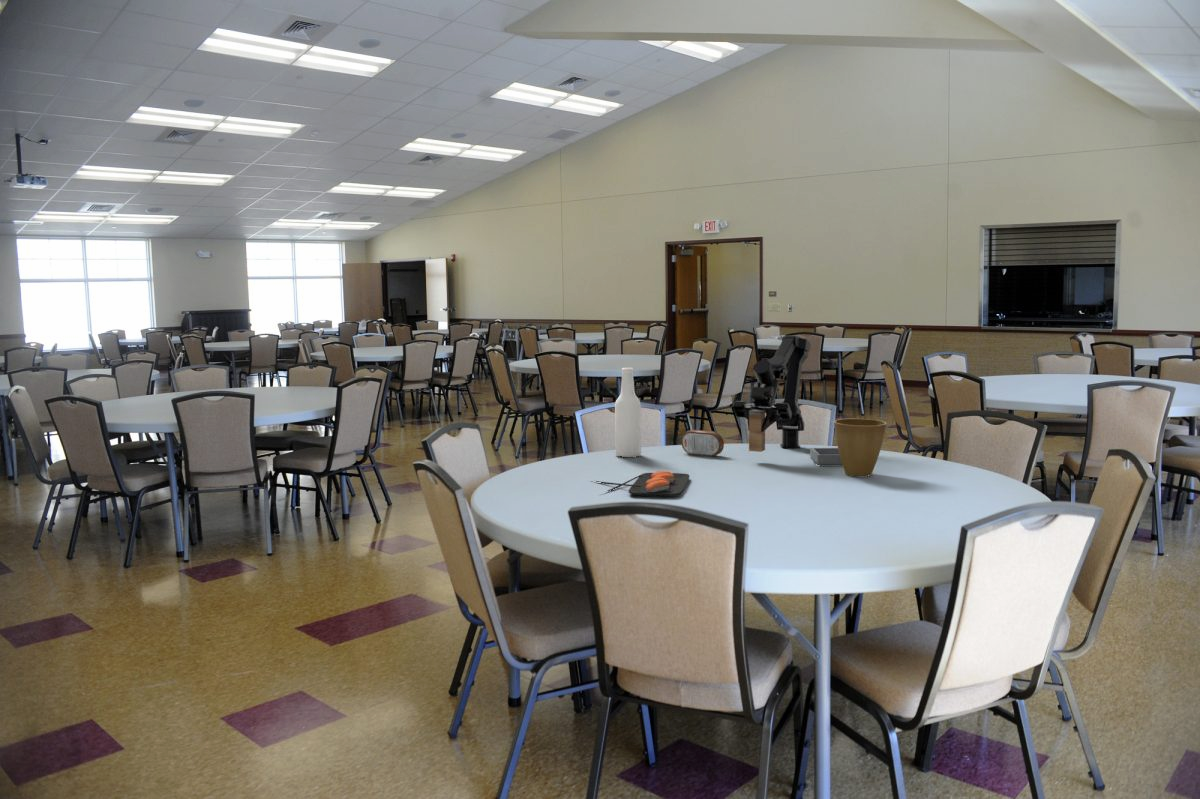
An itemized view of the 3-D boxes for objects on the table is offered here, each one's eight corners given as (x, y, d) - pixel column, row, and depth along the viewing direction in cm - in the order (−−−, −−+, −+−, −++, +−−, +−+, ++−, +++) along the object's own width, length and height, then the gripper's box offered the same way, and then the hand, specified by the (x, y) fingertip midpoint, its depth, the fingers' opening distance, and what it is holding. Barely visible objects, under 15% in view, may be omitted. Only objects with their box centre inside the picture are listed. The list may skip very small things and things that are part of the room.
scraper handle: (753, 449, 298) (753, 409, 297) (764, 449, 296) (765, 410, 295) (748, 450, 295) (749, 410, 293) (760, 451, 293) (761, 411, 291)
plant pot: (833, 478, 268) (834, 424, 266) (833, 469, 282) (833, 417, 281) (886, 480, 264) (887, 425, 263) (883, 470, 279) (884, 418, 277)
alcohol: (629, 452, 318) (628, 366, 314) (646, 455, 311) (645, 367, 308) (610, 455, 312) (609, 368, 309) (627, 458, 305) (626, 369, 302)
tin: (724, 456, 308) (724, 431, 307) (720, 457, 306) (720, 432, 305) (684, 452, 316) (684, 428, 315) (680, 454, 314) (680, 429, 313)
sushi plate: (679, 501, 244) (679, 487, 243) (570, 497, 250) (570, 484, 249) (691, 479, 272) (691, 467, 272) (592, 477, 278) (592, 464, 277)
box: (810, 458, 302) (810, 447, 301) (852, 458, 301) (852, 447, 300) (817, 465, 288) (817, 455, 288) (861, 465, 287) (861, 454, 287)
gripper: (734, 376, 301) (721, 413, 293) (789, 378, 292) (778, 416, 283) (742, 397, 309) (730, 434, 300) (796, 400, 299) (785, 438, 291)
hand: (755, 430), depth 294 cm, fingers closed on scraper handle, 4 cm apart
